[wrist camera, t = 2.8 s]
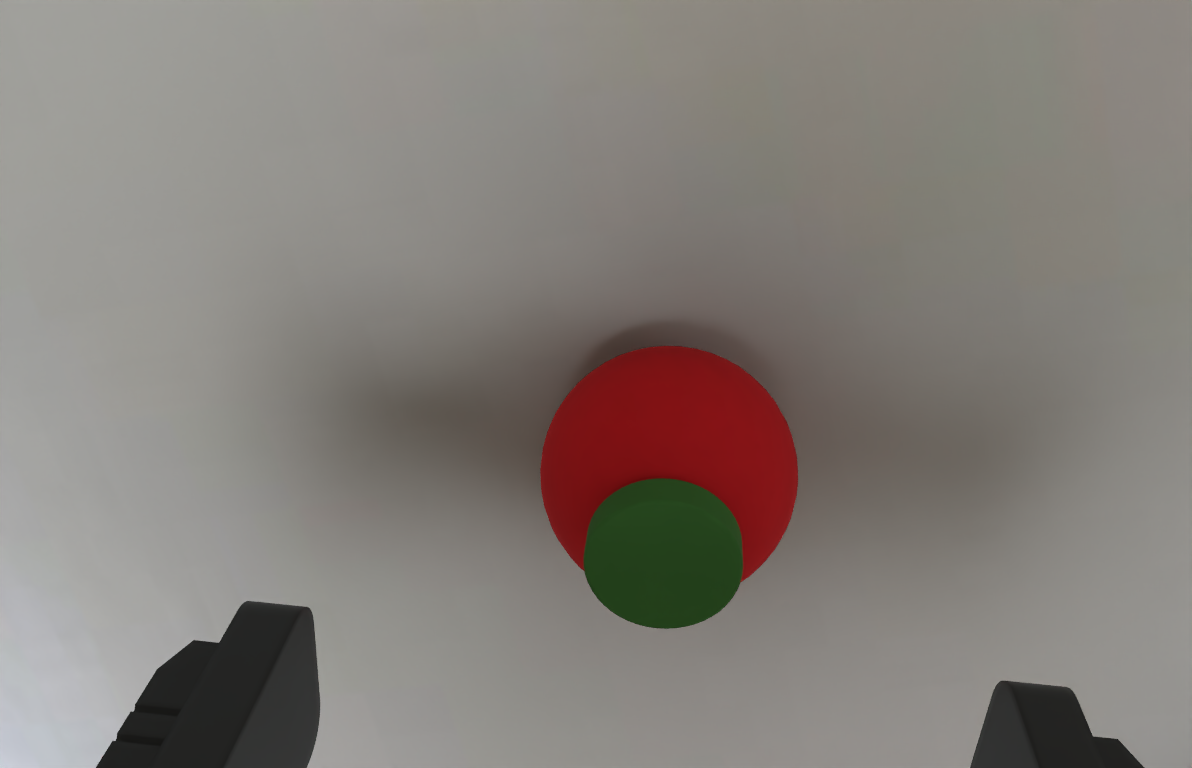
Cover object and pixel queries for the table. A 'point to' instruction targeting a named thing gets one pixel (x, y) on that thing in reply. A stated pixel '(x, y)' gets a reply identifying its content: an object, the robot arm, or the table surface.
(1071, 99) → the table surface
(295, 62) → the table surface
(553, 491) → the strawberry
